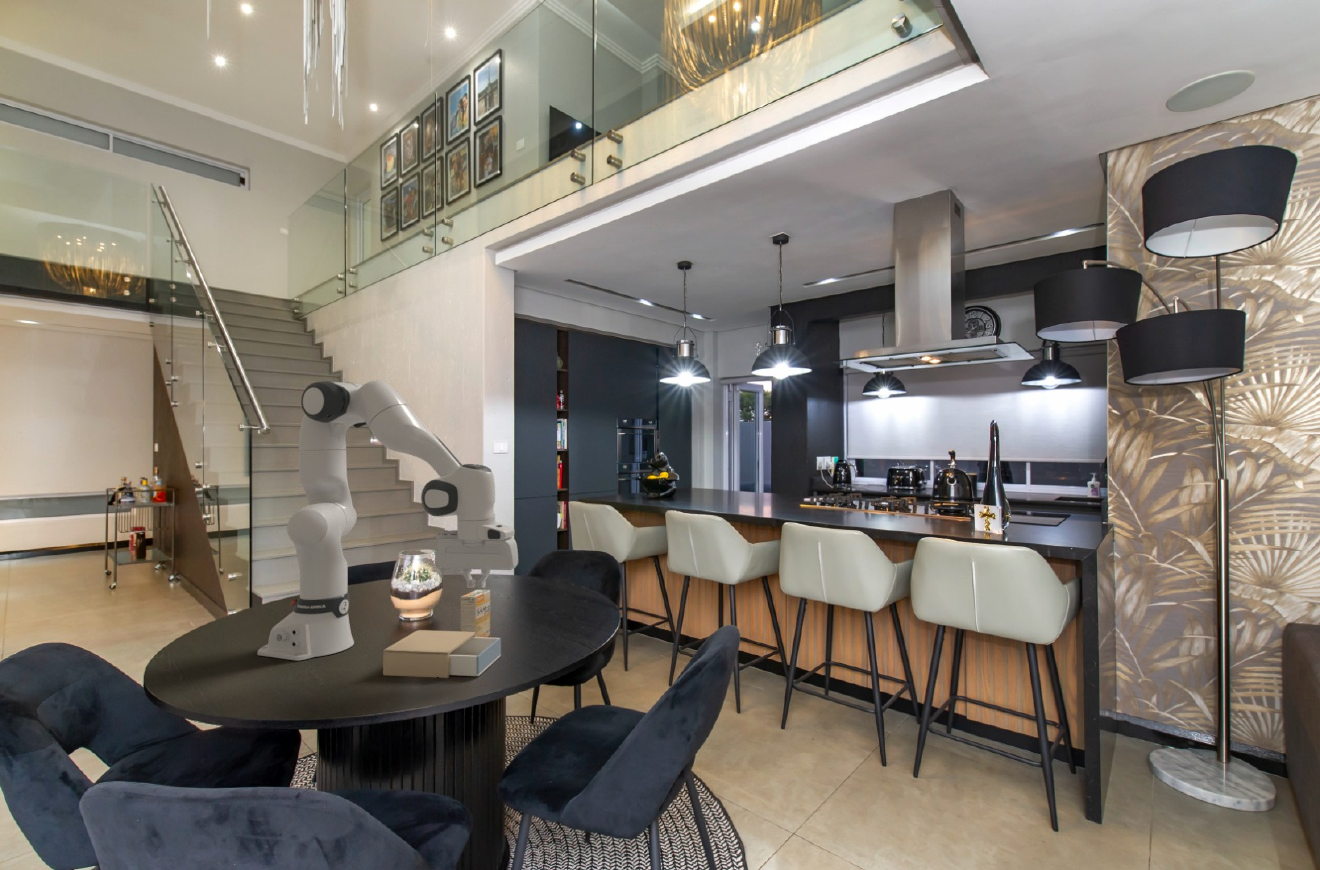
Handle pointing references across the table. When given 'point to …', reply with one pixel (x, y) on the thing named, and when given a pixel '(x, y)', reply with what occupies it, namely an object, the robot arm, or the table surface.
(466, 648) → the tray
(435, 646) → the mailer sleeve
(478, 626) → the supplement box
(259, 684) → the table surface
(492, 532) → the robot arm
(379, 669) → the table surface
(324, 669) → the table surface
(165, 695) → the table surface
